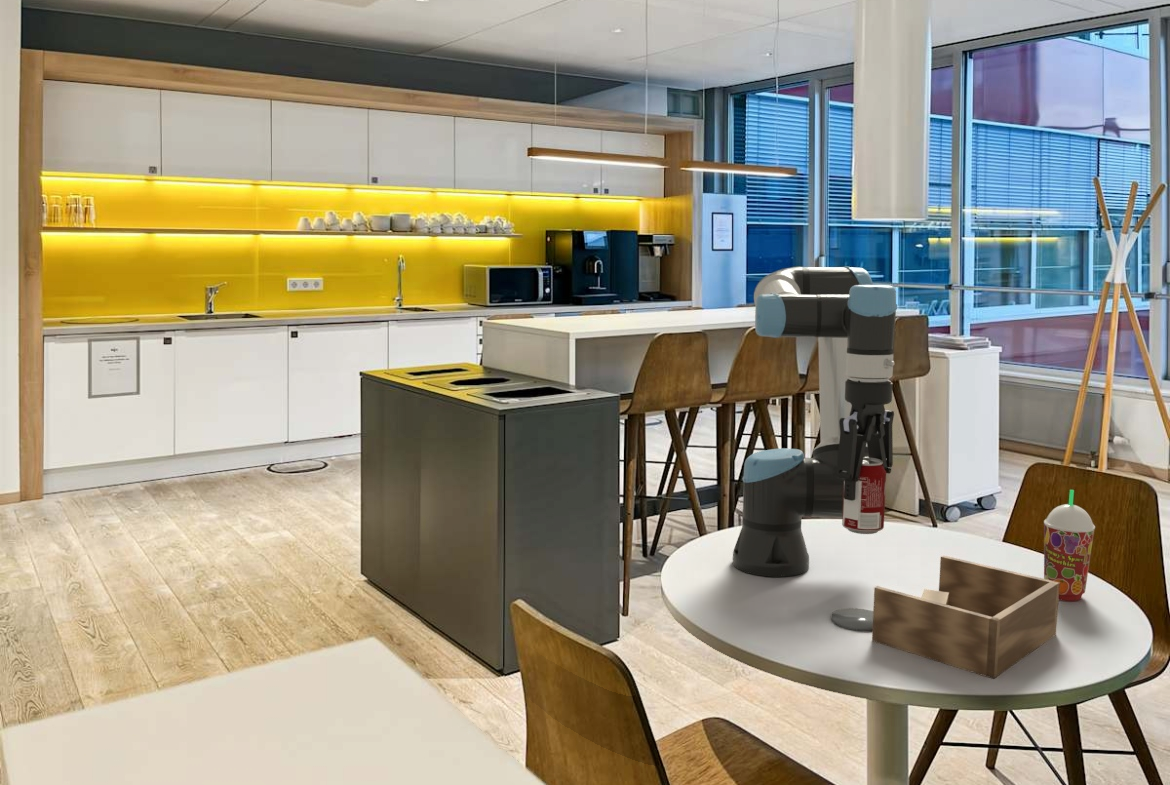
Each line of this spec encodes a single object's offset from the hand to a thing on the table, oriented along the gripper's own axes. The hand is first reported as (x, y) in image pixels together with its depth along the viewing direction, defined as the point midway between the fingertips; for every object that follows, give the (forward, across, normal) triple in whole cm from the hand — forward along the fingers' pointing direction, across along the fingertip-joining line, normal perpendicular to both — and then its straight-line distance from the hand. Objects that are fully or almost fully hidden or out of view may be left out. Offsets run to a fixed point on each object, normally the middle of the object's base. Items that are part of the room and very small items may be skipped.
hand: (863, 514), depth 166 cm
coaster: (+19, 0, 0) cm, 19 cm away
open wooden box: (+19, +6, -16) cm, 25 cm away
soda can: (+3, 0, 0) cm, 3 cm away
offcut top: (+16, +6, -10) cm, 20 cm away
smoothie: (+19, +38, -20) cm, 47 cm away
